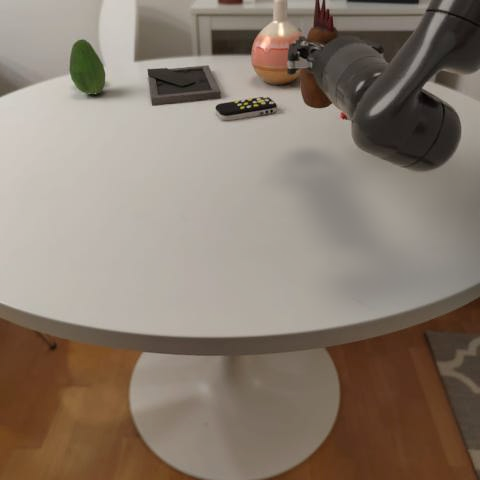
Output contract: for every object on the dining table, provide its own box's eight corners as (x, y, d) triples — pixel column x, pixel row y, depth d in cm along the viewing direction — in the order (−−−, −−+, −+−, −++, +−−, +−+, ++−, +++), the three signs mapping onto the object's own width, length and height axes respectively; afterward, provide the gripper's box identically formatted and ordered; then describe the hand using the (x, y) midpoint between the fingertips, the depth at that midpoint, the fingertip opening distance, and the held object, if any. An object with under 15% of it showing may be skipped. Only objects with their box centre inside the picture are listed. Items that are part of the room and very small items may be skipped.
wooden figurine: (294, 99, 76) (298, -7, 66) (328, 95, 76) (337, -10, 66) (306, 114, 71) (313, 1, 61) (342, 110, 71) (354, -2, 61)
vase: (240, 81, 115) (237, 0, 103) (278, 69, 121) (279, -9, 110) (279, 94, 107) (281, 7, 95) (317, 80, 114) (323, -3, 102)
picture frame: (148, 77, 120) (152, 105, 104) (147, 69, 118) (150, 96, 103) (208, 71, 122) (221, 98, 106) (208, 63, 120) (220, 89, 105)
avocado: (100, 86, 115) (89, 33, 107) (114, 94, 111) (103, 39, 103) (70, 94, 112) (56, 39, 104) (83, 102, 107) (69, 46, 99)
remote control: (214, 112, 100) (213, 103, 98) (268, 103, 103) (268, 94, 101) (222, 122, 95) (222, 112, 94) (278, 113, 98) (279, 103, 97)
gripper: (413, 38, 55) (365, 10, 68) (298, 48, 54) (271, 18, 67) (401, 101, 60) (359, 64, 73) (295, 111, 59) (271, 72, 72)
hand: (317, 42), depth 70 cm, fingers closed on wooden figurine, 4 cm apart
